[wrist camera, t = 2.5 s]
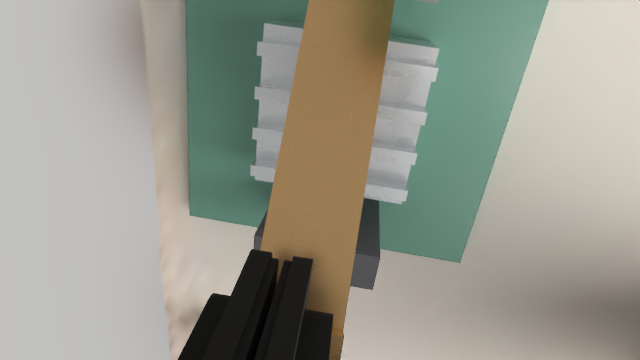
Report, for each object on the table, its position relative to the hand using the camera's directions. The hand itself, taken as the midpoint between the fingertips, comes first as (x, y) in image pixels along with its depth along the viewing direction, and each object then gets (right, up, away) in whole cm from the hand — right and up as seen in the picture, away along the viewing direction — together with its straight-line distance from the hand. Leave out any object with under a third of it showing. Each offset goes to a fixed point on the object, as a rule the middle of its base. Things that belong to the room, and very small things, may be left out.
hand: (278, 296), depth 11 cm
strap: (+1, +5, +4) cm, 6 cm away
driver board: (+2, +8, +13) cm, 15 cm away
